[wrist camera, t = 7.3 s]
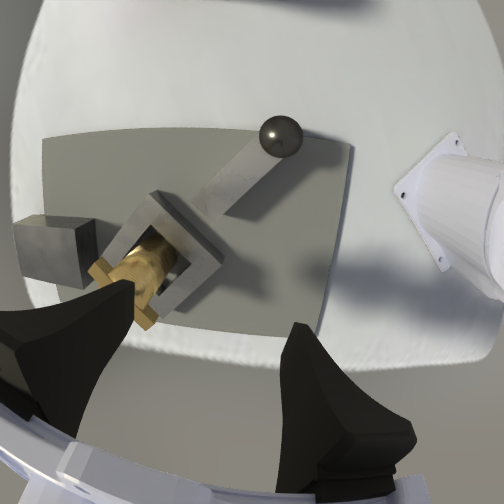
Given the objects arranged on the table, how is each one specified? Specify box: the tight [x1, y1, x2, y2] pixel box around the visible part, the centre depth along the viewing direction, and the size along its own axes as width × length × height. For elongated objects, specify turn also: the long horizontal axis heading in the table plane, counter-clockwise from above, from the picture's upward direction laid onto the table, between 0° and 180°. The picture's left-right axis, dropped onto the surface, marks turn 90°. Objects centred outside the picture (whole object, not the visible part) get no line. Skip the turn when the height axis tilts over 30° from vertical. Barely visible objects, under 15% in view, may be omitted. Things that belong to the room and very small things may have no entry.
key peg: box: [87, 234, 178, 331], centre depth 18 cm, size 5×3×7 cm, turn 40°
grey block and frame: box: [12, 190, 225, 319], centre depth 20 cm, size 16×15×3 cm
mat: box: [42, 128, 350, 338], centre depth 21 cm, size 25×16×1 cm, turn 85°
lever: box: [190, 116, 303, 224], centre depth 16 cm, size 2×8×3 cm, turn 134°
